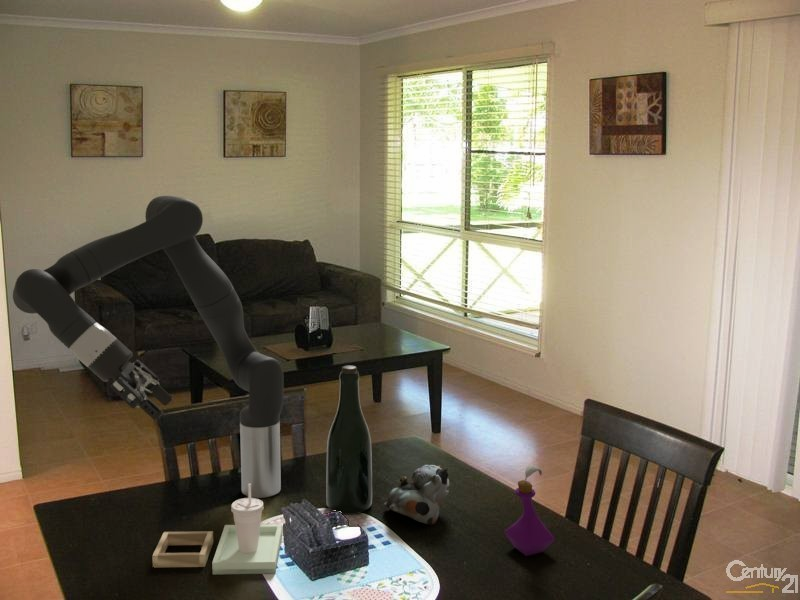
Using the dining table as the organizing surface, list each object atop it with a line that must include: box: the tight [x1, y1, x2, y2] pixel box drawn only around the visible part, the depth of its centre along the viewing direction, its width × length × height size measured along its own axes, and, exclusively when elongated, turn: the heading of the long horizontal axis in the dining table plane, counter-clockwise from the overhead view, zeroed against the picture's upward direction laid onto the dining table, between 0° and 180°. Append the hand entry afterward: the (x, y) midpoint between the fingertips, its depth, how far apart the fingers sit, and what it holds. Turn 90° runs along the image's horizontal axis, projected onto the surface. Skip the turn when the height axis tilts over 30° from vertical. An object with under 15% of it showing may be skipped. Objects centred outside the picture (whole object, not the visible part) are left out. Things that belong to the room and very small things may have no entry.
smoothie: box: [230, 483, 264, 554], centre depth 166 cm, size 6×6×14 cm
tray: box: [211, 524, 283, 575], centre depth 167 cm, size 16×12×2 cm
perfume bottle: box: [503, 464, 556, 557], centre depth 169 cm, size 8×8×18 cm
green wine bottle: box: [325, 364, 373, 515], centre depth 187 cm, size 10×10×33 cm
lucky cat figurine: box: [383, 464, 450, 526], centre depth 185 cm, size 15×12×14 cm
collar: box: [152, 530, 214, 568], centre depth 167 cm, size 10×10×2 cm
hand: (164, 408), depth 161 cm, fingers open, 8 cm apart
